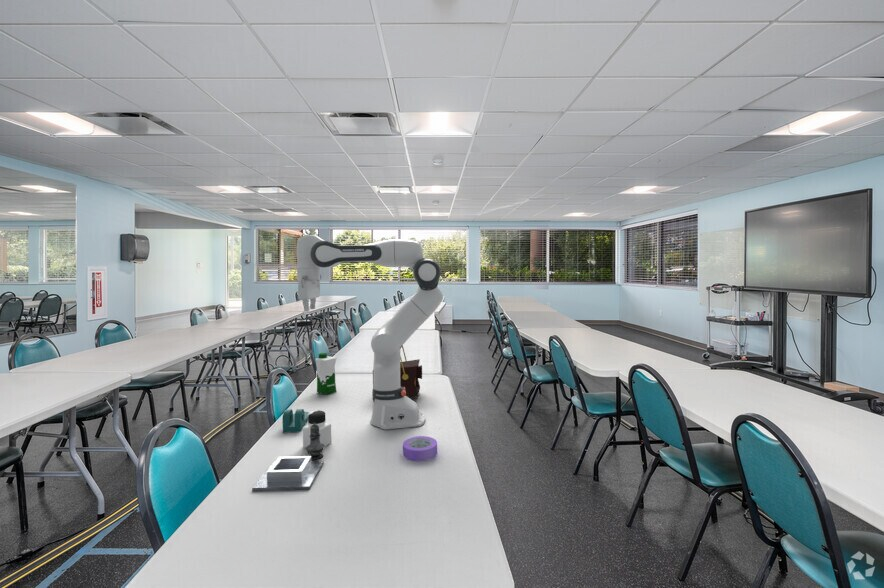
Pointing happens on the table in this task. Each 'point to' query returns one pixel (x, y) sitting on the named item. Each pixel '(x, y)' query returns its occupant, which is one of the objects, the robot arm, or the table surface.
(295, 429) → the bracket
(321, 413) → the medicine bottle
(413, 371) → the dark brown boxy piece
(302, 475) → the plate
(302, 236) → the robot arm
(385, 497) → the table surface
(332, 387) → the milk carton
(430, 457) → the masking tape
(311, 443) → the chess piece
